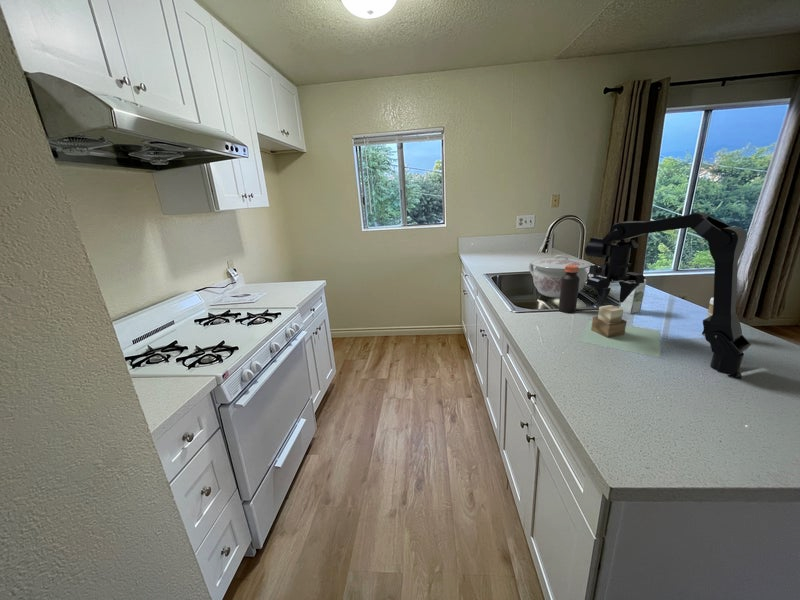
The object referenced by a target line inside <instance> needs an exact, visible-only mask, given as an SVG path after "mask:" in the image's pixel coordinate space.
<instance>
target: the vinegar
mask: <svg viewBox="0 0 800 600" xmlns="http://www.w3.org/2000/svg"><path fill="white" fill-rule="evenodd" d="M565 273H566V274H565V275H564V276H563V277H562V281H561V291H560V298H559V299H558V300H559V301H558V311H560V312H562V313H565V314H574V313H575V312H576V311H577V304H578V302H577V301H578V298H579V297H578V296H579V293H578V288H579V280H580V278H579V277H578V276H577V273H578V266H575V265H567V266H565Z"/></svg>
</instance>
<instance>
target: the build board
mask: <svg viewBox="0 0 800 600" xmlns="http://www.w3.org/2000/svg"><path fill="white" fill-rule="evenodd" d="M592 320H593V319H589V320H588V323H587V324H586V327H585V329H584V331H583V333H582V335H581V337H580V340H579V343H584V344H588V345H593V346H600V347H605V348H609V349H615V350H621V351H625V352H629V353H635V354H641V355H643V356H644V355H645V356H649V357H655V358H661V333H660V332H661V331H660V330H659V329H654V328H653V329H652V328H649V327H648V328H646V327H640V326H634V325H628V324H626V328H625V334H624V335H621V336H616V337H610V338H606V337H604V336H602V335H600V334H598V333H596V332H594V331H591V328H592Z"/></svg>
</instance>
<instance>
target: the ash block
mask: <svg viewBox="0 0 800 600" xmlns="http://www.w3.org/2000/svg"><path fill="white" fill-rule="evenodd" d="M618 307H619V306H616V305H612V304H610V305H609V304H608V305H601V306H599V308H598V315H597V316H598V319H600V320H603V321H605V322H607V323H615V322H621V320H623V313H624V312H623V309H621V308H618Z"/></svg>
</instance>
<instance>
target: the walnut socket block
mask: <svg viewBox="0 0 800 600" xmlns="http://www.w3.org/2000/svg"><path fill="white" fill-rule="evenodd" d="M591 320H592V328H591V331H594V332H596V333H598V334H600V335H602V336H604V337H606V338H610V337H616V336H621V335H624V334H625V328H626V325H627V322H628V321H627V320H624V319H622V320H621V322H615V323H607V322H605V321H603V320H600V319H598V315H597V316H596V315H595V316H592V319H591Z"/></svg>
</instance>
